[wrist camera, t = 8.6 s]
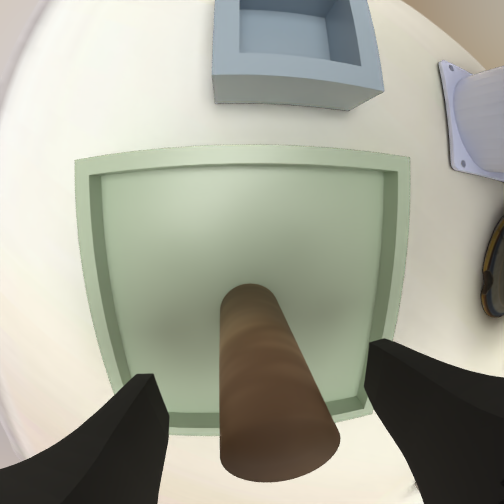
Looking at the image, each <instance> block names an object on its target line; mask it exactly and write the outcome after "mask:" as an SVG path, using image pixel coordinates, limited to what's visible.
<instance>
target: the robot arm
mask: <svg viewBox="0 0 504 504" xmlns="http://www.w3.org/2000/svg"><path fill="white" fill-rule="evenodd" d="M439 69H440V74H441V79H442V84H443V90H444V96H445V102H446V110H447V118H448V127H449V139H450V156H451V165H452V168H453V169H454V170H456V171H461V172H465V173H470V174H474V175H478V176H482V177H486V178H490V179H494V180H498V181H502V182H504V66H501V67H497V68H494V69H491V70H487V71H484V72H481V73H478V74H474V75H473V74H471V73H469V72H467V71H465V70H463V69H462V68H460V67H458V66H456V65H454V64H452V63H449V62H447V61H445V60H442V61H440V62H439ZM461 162H462V165H461ZM364 389H365V391H366V394H367V396H368V398H369V400H370V402H371V404H372V407H373V409H374V410H375V412H376V413H377V415H378V417H379V418H380V420H381V421H382V423H383V424H384V426H385V427H386V429H387V430H388V432H389V433H390V435H391V437H392V438H393V440H394V441H395V443H396V444H397V446H398V447H399V449H400V450H401V452H402V454H403V455H404V457H405V459H406V461H407V463H408V465H409V467H410V470H411V472H412V474H413V476H414V478H415V481H416V483H417V486H418V488H419V491H420V494H421V496H422V499H423V502H424V504H504V378H503V377H496V376H490V375H485V374H481V373H476V372H472V371H468V370H465V369H462V368H459V367H456V366H453V365H450V364H447V363H444V362H441V361H439V360H436V359H434V358H431V357H429V356H426V355H424V354H422V353H419V352H417V351H415V350H412V349H410V348H408V347H405V346H403V345H401V344H398V343H396V342H394V341H391V340H388V339H385V338H383V339H380V340H376V341H372V342H369V350H368V358H367V366H366V374H365V381H364ZM169 419H170V416H169V413H168V411H167V408H166V406H165V403H164V401H163V398H162V395H161V393H160V390H159V387H158V385H157V382H156V379H155V376H154V373H147V374H136V375H135V376H134V377H132V378H131V379H130V380H129V381H128V382H127V383H126V384H125V385H124V386H123V387H122V388H121V389H120V390H119V391H118V392H117V393H116V394H115V395H114V396H113V397H112V398H111V399H110V400H109V401H108V402H107V403H106V404H105V405H104V406H103V407H101V408H100V409H99V410H98V411H97V412H96V413H95V414H94V415H93V416H91V417H90V418H89V419H88V420H87V421H86V422H84V423H83V424H82V425H81V426H80V427H79V428H77V429H76V430H75V431H73V432H72V433H71V434H69V435H68V436H67V437H65V438H64V439H62V440H61V441H59V442H58V443H56V444H55V445H53V446H51V447H50V448H48V449H46V450H44V451H42V452H40V453H38V454H37V455H35V456H33V457H31V458H29V459H27V460H24V461H22V462H20V463H17V464H15V465H12V466H9V467H6V468H3V469H0V504H157V502H158V493H159V487H160V482H161V476H162V471H163V466H164V461H165V455H166V450H167V445H168V437H169Z"/></svg>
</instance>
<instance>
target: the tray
mask: <svg viewBox="0 0 504 504" xmlns="http://www.w3.org/2000/svg"><path fill="white" fill-rule="evenodd" d="M75 200H76V217H77V229H78V239H79V247H80V255H81V263H82V269H83V276H84V282H85V287H86V293H87V298H88V303H89V307H90V312H91V317H92V321H93V325H94V329H95V333H96V337H97V341H98V344H99V348H100V352H101V355H102V358H103V362H104V365H105V368H106V371H107V375H108V378H109V381H110V384H111V386H112V389H113V392H114V395H115V394H116V393H117V392H118V391H119V390H120V389H121V388H122V387H123V386H124V385H125V384H126V383H127V382H128V381H129V380H130V379H131V378H132V377H134V376H135V375H136V374H147V373H154V376H155V379H156V382H157V385H158V387H159V390H160V393H161V395H162V398H163V401H164V403H165V406H166V408H167V411H168V413H169V416H170V419H169V435H184V436H220V426H219V342H220V306H221V303H222V300H223V298H224V297H225V295H226V294H227V293H228V292H229V291H230V290H231V289H233V288H235V287H237V286H239V285H242V284H249V283H252V284H259V285H262V286H264V287H266V288H267V289H269V290H270V291H271V292H272V293H273V294H274V296H275V297H276V299H277V301H278V303H279V306H280V308H281V310H282V312H283V314H284V316H285V318H286V320H287V323H288V325H289V327H290V329H291V331H292V333H293V335H294V337H295V340H296V342H297V344H298V346H299V348H300V350H301V352H302V354H303V357H304V359H305V361H306V363H307V365H308V367H309V369H310V371H311V374H312V376H313V378H314V380H315V382H316V384H317V386H318V389H319V391H320V393H321V395H322V397H323V399H324V401H325V403H326V406H327V408H328V410H329V412H330V414H331V416H332V418H333V421H334V423H336V422H341V421H345V420H350V419H354V418H358V417H362V416H366V415H370V414H372V412H373V407H372V404H371V402H370V400H369V398H368V396H367V394H366V391H365V389H364V381H365V374H366V366H367V358H368V350H369V342H372V341H376V340H380V339H383V338H385V339H388V340H391V341H393V337H394V332H395V327H396V322H397V317H398V311H399V306H400V300H401V294H402V287H403V280H404V272H405V264H406V255H407V244H408V232H409V215H410V157H405V156H399V155H392V154H385V153H377V152H369V151H360V150H351V149H340V148H328V147H314V146H295V145H205V146H187V147H172V148H160V149H150V150H140V151H131V152H123V153H116V154H109V155H102V156H96V157H89V158H84V159H78V160H75Z"/></svg>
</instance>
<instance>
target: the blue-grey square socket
mask: <svg viewBox="0 0 504 504" xmlns="http://www.w3.org/2000/svg"><path fill="white" fill-rule="evenodd" d="M212 80H213V89H214V99H215V104H221V103H261V104H284V105H299V106H311V107H321V108H330V109H338V110H345V111H350V110H351V109H353V108H355V107H357V106H359V105H360V104H362V103H364V102H366V101H368V100H370V99H371V98H373V97H375V96H377V95H379V94H381V93H383V92H384V84H383V77H382V70H381V64H380V58H379V52H378V46H377V41H376V36H375V32H374V27H373V23H372V18H371V14H370V10H369V6H368V3H367V0H215V12H214V32H213V58H212Z"/></svg>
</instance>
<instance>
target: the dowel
mask: <svg viewBox="0 0 504 504" xmlns="http://www.w3.org/2000/svg"><path fill="white" fill-rule="evenodd" d="M219 426H220V460H221V463H222V465H223V467H224V468H225V469H226V470H227V471H228V472H229V473H231V474H232V475H234V476H236V477H238V478H241V479H244V480H248V481H254V482H279V481H285V480H290V479H294V478H297V477H300V476H303V475H305V474H308V473H310V472H312V471H314V470H316V469H317V468H319V467H321V466H322V465H323V464H325V463H326V462H327V461H328V460H329V459H330V458H331V457H332V456H333V455H334V454H335V452H336V451H337V449H338V447H339V444H340V433H339V431H338V429H337V427H336V425H335V423H334V421H333V418H332V416H331V414H330V412H329V410H328V408H327V406H326V403H325V401H324V399H323V397H322V395H321V393H320V391H319V389H318V386H317V384H316V382H315V380H314V378H313V376H312V374H311V371H310V369H309V367H308V365H307V363H306V361H305V359H304V357H303V354H302V352H301V350H300V348H299V346H298V344H297V342H296V340H295V337H294V335H293V333H292V331H291V329H290V327H289V325H288V323H287V320H286V318H285V316H284V314H283V312H282V310H281V308H280V306H279V303H278V301H277V299H276V297H275V296H274V294H273V293H272V292H271V291H270V290H269V289H267V288H266V287H264V286H262V285H259V284H252V283H249V284H242V285H239V286H237V287H235V288H233V289H231V290H230V291H229V292H228V293H227V294H226V295H225V297H224V298H223V300H222V303H221V306H220V342H219Z"/></svg>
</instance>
